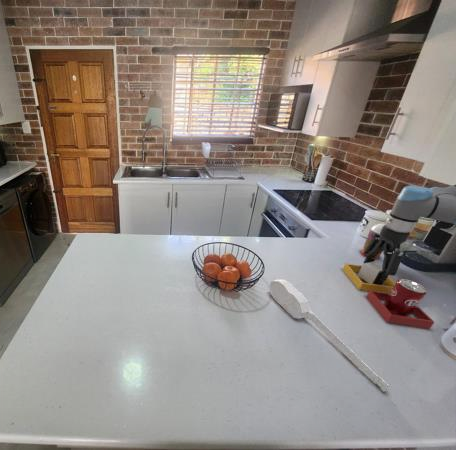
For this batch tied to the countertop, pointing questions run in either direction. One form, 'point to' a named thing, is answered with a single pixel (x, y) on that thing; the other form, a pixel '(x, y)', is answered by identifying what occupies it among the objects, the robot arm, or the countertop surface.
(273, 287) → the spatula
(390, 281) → the yellow bin
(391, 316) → the red bin
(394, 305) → the soda can
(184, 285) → the countertop surface
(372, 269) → the white cube
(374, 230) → the smoothie
